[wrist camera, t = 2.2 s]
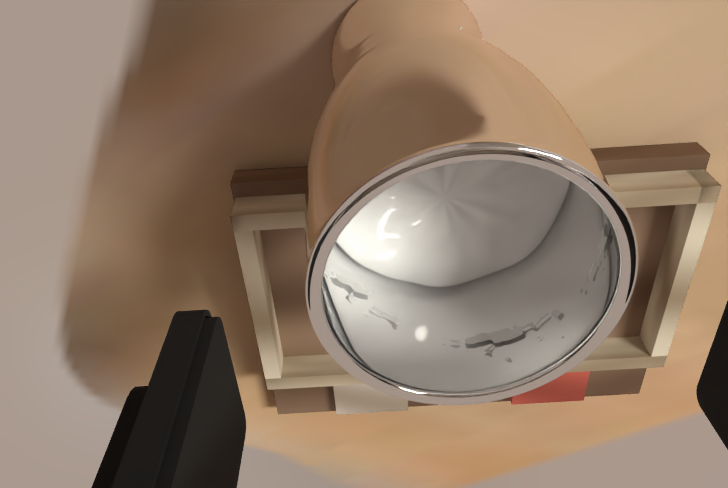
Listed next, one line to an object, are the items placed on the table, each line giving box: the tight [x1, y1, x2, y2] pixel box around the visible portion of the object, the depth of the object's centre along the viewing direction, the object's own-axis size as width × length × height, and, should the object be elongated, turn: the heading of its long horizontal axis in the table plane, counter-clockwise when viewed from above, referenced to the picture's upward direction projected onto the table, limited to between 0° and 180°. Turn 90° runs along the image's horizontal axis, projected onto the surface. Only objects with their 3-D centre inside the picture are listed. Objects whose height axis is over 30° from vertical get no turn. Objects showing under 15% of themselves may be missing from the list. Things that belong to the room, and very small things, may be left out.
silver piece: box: [304, 0, 638, 405], centre depth 18 cm, size 7×7×15 cm
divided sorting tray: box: [230, 142, 721, 414], centre depth 30 cm, size 15×21×3 cm
